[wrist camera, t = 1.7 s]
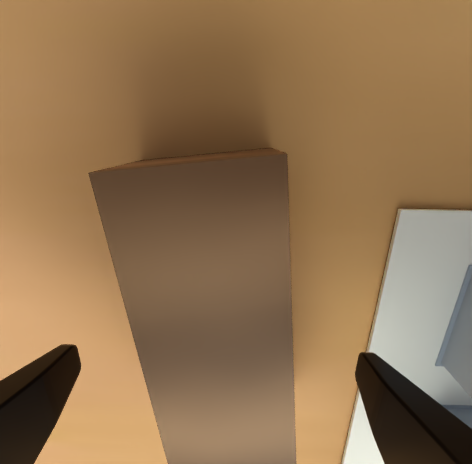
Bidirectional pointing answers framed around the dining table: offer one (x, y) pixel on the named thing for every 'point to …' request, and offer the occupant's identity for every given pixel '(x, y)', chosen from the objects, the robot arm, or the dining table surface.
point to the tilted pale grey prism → (461, 345)
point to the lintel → (208, 299)
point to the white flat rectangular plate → (418, 312)
